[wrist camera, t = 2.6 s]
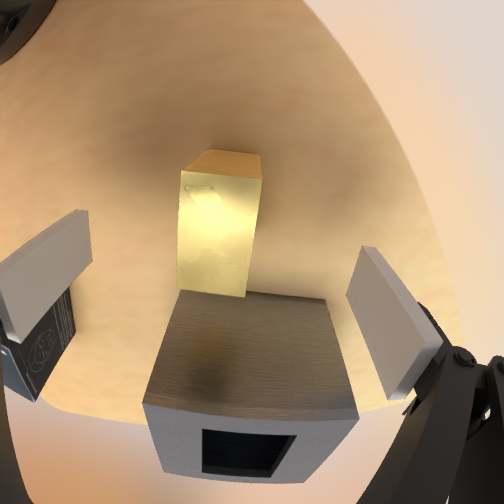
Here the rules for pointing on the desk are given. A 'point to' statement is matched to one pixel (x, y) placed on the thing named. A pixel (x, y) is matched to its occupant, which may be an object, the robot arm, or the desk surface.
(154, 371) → the gray slotted cube
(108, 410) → the desk surface
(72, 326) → the box
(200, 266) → the yellow rectangular block
